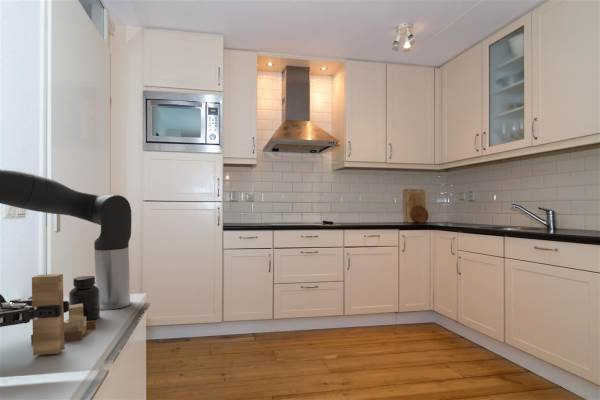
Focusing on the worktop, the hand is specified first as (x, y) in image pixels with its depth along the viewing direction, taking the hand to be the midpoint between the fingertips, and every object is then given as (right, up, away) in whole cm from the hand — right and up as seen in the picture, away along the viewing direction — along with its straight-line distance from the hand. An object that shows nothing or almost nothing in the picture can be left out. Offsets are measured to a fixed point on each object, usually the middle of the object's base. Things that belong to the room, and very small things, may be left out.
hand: (64, 308), depth 76 cm
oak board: (-3, -8, 0) cm, 9 cm away
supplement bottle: (-8, -10, +22) cm, 26 cm away
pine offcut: (-4, -9, +10) cm, 14 cm away
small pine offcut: (-4, -5, +11) cm, 12 cm away
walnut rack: (-6, -10, +10) cm, 16 cm away
